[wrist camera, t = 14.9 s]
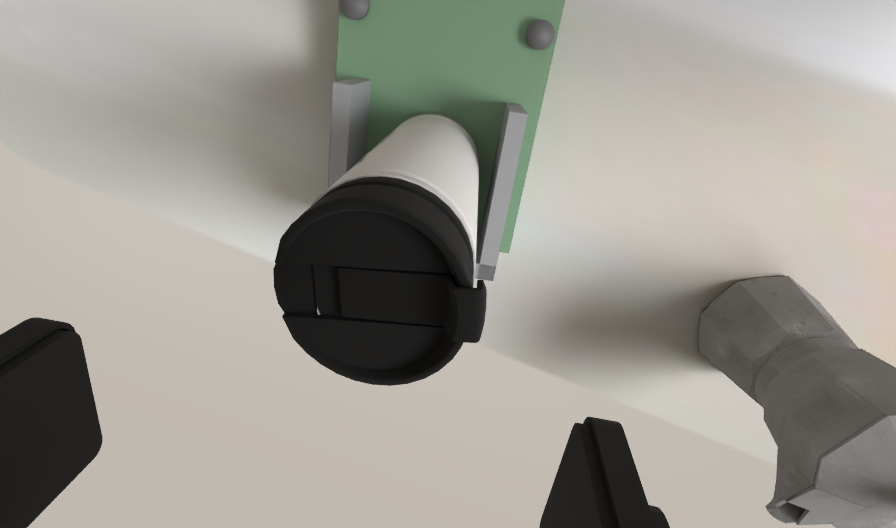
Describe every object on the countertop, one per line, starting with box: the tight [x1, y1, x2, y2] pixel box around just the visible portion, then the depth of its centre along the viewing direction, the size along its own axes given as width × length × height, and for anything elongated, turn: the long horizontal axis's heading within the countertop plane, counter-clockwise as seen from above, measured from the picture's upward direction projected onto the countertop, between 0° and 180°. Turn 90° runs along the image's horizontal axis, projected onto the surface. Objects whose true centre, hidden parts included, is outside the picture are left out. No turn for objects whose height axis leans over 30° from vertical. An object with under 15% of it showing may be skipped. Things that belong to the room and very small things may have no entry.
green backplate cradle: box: [328, 0, 565, 281], centre depth 30 cm, size 16×13×8 cm
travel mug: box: [274, 113, 486, 386], centre depth 23 cm, size 6×7×20 cm
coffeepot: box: [698, 276, 896, 528], centre depth 29 cm, size 15×9×18 cm, turn 121°
